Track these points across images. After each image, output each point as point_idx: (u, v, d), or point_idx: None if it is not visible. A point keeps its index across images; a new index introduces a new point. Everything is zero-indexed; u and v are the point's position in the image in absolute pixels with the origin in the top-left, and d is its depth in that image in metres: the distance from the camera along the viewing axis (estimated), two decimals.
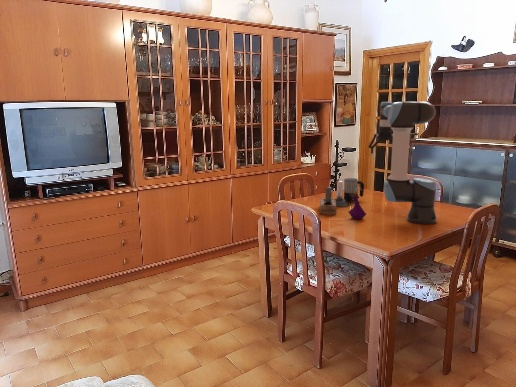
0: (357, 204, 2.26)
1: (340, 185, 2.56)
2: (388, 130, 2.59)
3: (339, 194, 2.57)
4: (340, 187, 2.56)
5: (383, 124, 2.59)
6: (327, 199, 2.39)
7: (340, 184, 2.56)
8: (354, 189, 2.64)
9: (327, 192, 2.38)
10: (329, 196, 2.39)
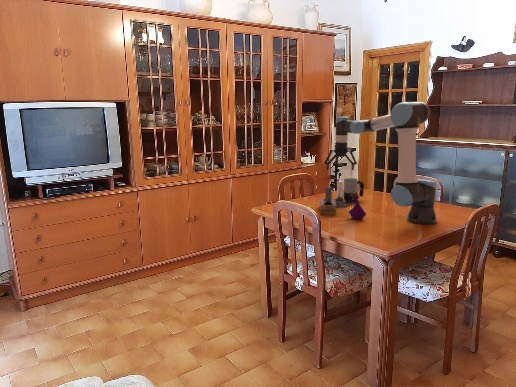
0: (357, 204, 2.26)
1: (340, 185, 2.56)
2: (343, 146, 2.48)
3: (339, 194, 2.57)
4: (340, 187, 2.56)
5: (338, 140, 2.48)
6: (327, 199, 2.39)
7: (340, 184, 2.56)
8: (354, 189, 2.64)
9: (327, 192, 2.38)
10: (329, 196, 2.39)
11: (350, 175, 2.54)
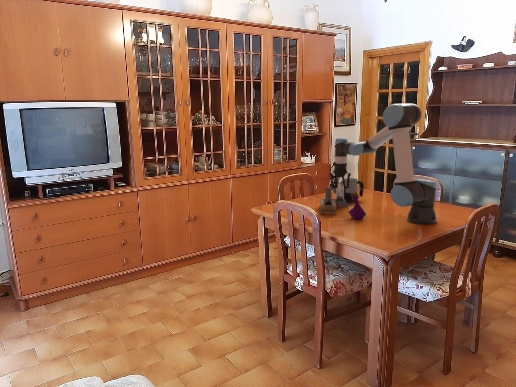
0: (357, 204, 2.26)
1: (340, 185, 2.56)
2: (343, 167, 2.51)
3: (339, 194, 2.57)
4: (340, 187, 2.56)
5: (338, 161, 2.51)
6: (327, 199, 2.39)
7: (340, 184, 2.56)
8: (354, 189, 2.65)
9: (327, 192, 2.38)
10: (329, 196, 2.39)
11: None
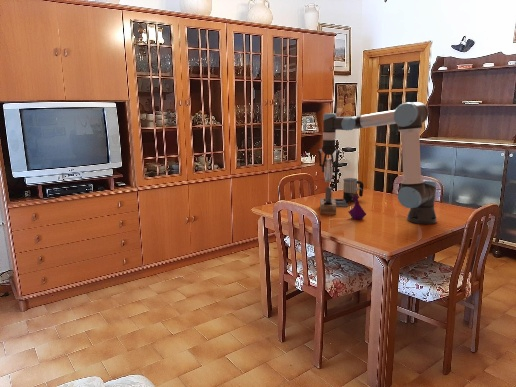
0: (357, 204, 2.26)
1: (329, 163, 2.43)
2: (331, 144, 2.39)
3: (328, 173, 2.45)
4: (329, 165, 2.43)
5: (326, 137, 2.38)
6: (327, 199, 2.39)
7: (329, 162, 2.43)
8: (353, 189, 2.65)
9: (327, 192, 2.38)
10: (329, 196, 2.39)
11: (331, 177, 2.46)
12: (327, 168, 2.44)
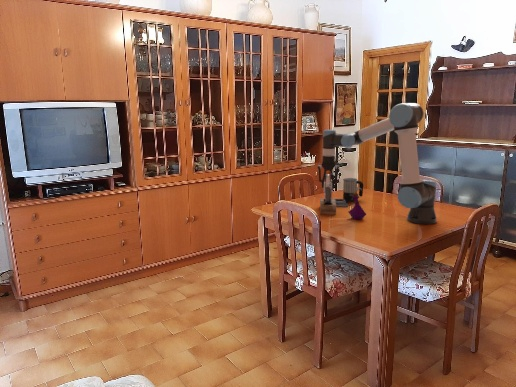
0: (357, 204, 2.26)
1: (328, 179, 2.45)
2: (331, 160, 2.41)
3: None
4: (328, 181, 2.46)
5: (325, 153, 2.41)
6: (327, 199, 2.39)
7: (328, 178, 2.45)
8: (353, 189, 2.65)
9: (327, 192, 2.38)
10: (329, 196, 2.39)
11: None
12: (327, 184, 2.46)
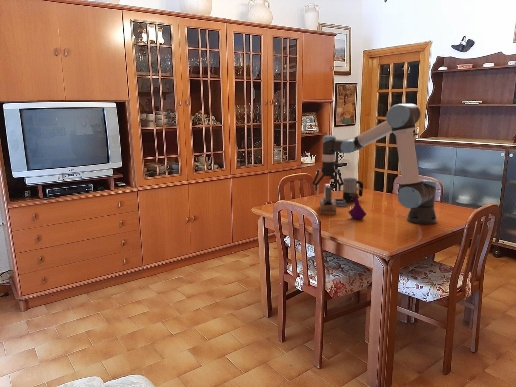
0: (357, 204, 2.26)
1: None
2: (331, 166, 2.42)
3: None
4: None
5: (325, 159, 2.41)
6: (327, 199, 2.39)
7: None
8: (353, 189, 2.65)
9: (327, 192, 2.38)
10: (329, 196, 2.39)
11: (337, 196, 2.48)
12: None
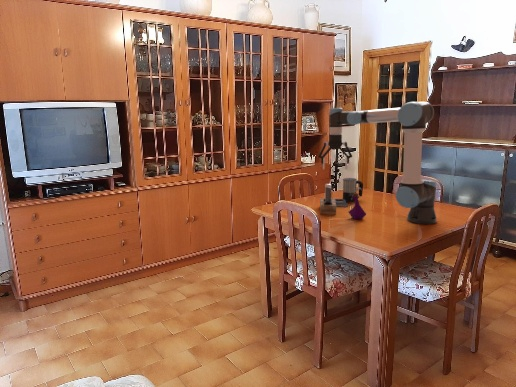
0: (357, 204, 2.26)
1: None
2: (338, 138, 2.39)
3: None
4: None
5: (332, 132, 2.39)
6: (327, 199, 2.39)
7: None
8: (353, 189, 2.65)
9: (327, 192, 2.38)
10: (329, 196, 2.39)
11: None
12: None
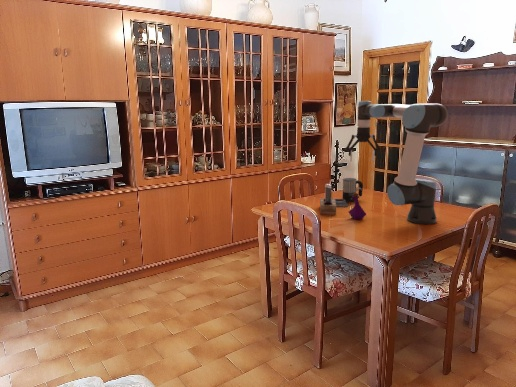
0: (357, 204, 2.26)
1: None
2: (366, 131, 2.43)
3: None
4: None
5: (361, 125, 2.42)
6: (327, 199, 2.39)
7: None
8: (352, 189, 2.65)
9: (327, 192, 2.38)
10: (329, 196, 2.39)
11: None
12: None
